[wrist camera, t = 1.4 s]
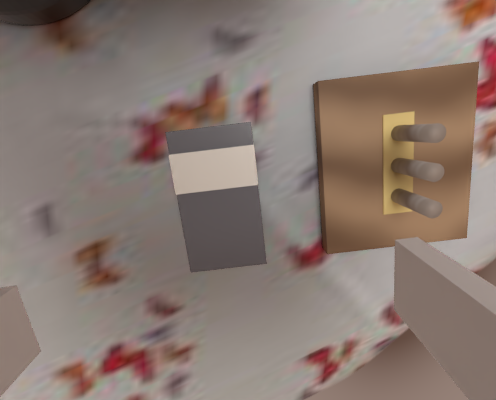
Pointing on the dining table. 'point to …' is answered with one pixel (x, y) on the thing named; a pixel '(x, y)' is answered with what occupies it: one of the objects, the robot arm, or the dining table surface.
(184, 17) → the dining table surface
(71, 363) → the dining table surface
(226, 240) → the block
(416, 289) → the robot arm
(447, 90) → the board
